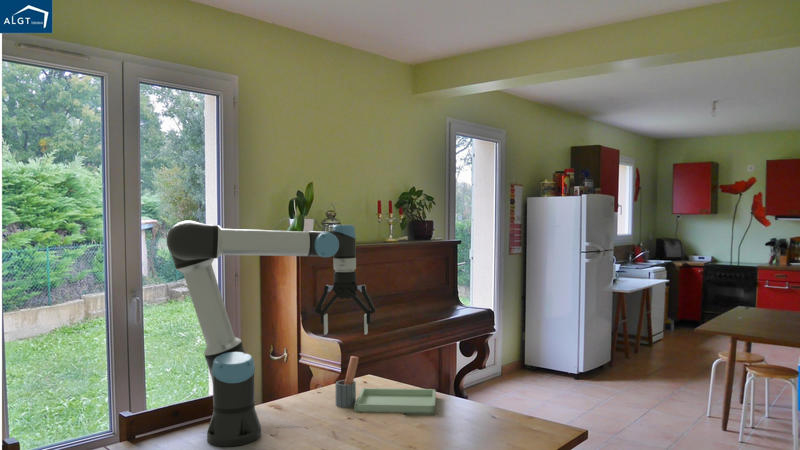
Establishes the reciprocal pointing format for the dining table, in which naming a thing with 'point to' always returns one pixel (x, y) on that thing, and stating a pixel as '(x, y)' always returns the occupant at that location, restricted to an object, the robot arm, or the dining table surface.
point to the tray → (396, 401)
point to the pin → (351, 370)
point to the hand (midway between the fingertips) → (345, 333)
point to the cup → (345, 394)
